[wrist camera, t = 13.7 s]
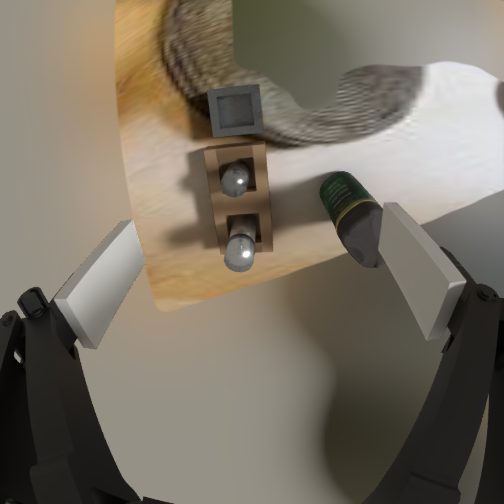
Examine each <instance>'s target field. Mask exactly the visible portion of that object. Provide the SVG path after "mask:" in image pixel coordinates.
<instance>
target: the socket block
mask: <svg viewBox="0 0 504 504" xmlns="http://www.w3.org/2000/svg"><path fill="white" fill-rule="evenodd" d="M207 94H208V102H209V110H210V117H211V125H212V132H213V138H216V137H224V136H233V135H243V134H254V133H264V126H263V115H262V105H261V95H260V86H259V84H255V85H245V86H236V87H227V88H220V89H213V90H207Z"/></svg>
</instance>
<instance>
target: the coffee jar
mask: <svg viewBox="0 0 504 504" xmlns="http://www.w3.org/2000/svg"><path fill="white" fill-rule="evenodd" d="M320 197H321V199H322V201H323V204H324V205H325V207H326V209H327V211H328V213H329V216H330V218H331V220H332V222H333V224H334V226H335V229H336V232H337V235H338V237H339V238H340V240H341V242H342V244H343V246H344V247H345V248H346V250H347V251H348V252H349V253H350V254H351V256H352V257H353V258H354V259H355V260H356V261H358V263H360V264H361V265H363V266H364V267H368V268H379V267H380V266H382V265H383V264H385V263H386V262H385V260H384V259H383V257H382V255H381V254H380V252H379V250H378V247H379V240H380V232H381V224H382V215H383V208H382V207H381V206H380V205H379V204H378V202H377V201H376V200H375V199H374V198H373V197H372V196H371V195H370V194H369V193H368V191H367V190H366V189H365V188H364V187H363V186H362V185H361V184H360V182H359V181H358V180H357V179H356V178H355V177H354V176H352V175H351V174H350V173H348V172H344V171H341V172H337V173H335V174H334V175H332V176H331V177H330V178H329V179H328V180H326V181H325V183H324V184H323V185H322V187H321V189H320Z"/></svg>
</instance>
